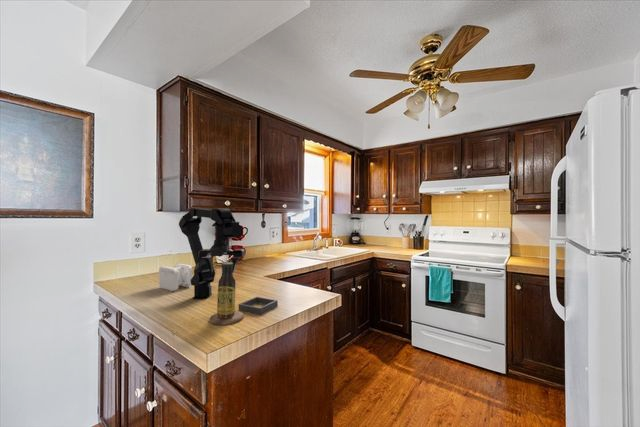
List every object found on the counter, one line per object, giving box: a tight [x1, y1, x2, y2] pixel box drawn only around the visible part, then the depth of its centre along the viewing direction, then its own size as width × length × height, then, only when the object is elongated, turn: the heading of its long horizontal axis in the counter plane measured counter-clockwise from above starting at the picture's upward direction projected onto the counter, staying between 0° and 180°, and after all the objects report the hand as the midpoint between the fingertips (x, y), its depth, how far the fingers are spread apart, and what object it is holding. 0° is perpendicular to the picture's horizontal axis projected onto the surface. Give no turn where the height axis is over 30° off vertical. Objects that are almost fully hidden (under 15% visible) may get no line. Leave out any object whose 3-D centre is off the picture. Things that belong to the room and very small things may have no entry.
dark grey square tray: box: [238, 296, 279, 316], centre depth 113 cm, size 11×11×2 cm
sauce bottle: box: [216, 261, 236, 319], centre depth 102 cm, size 6×6×20 cm
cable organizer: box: [158, 263, 193, 292], centre depth 143 cm, size 15×11×12 cm
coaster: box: [209, 310, 245, 326], centre depth 102 cm, size 12×12×1 cm
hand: (222, 272), depth 120 cm, fingers open, 9 cm apart
